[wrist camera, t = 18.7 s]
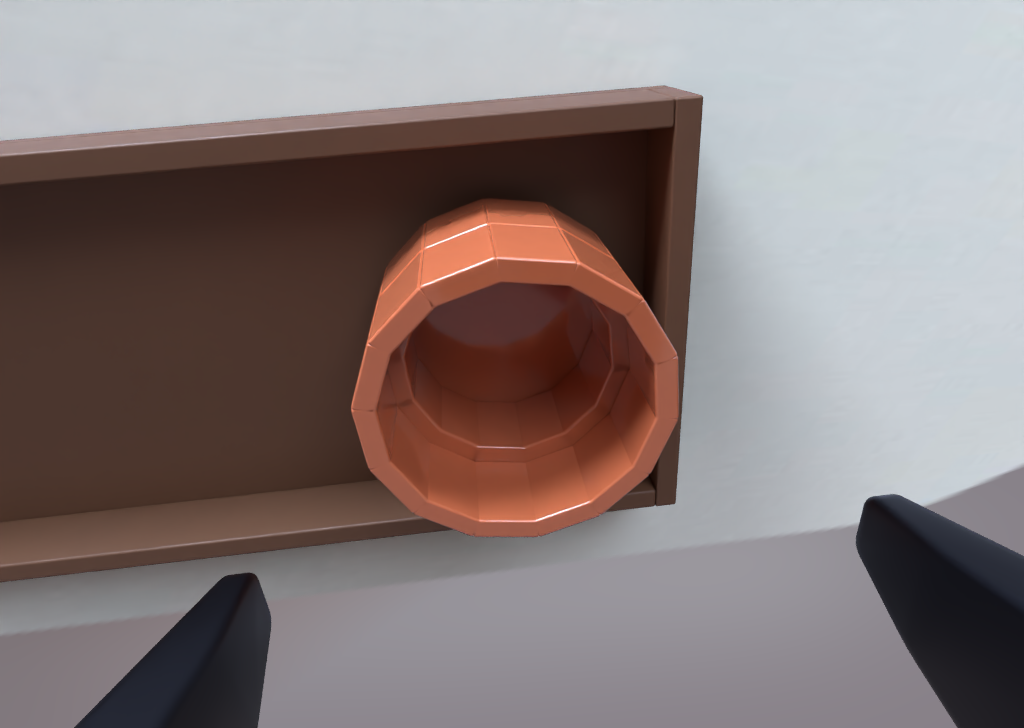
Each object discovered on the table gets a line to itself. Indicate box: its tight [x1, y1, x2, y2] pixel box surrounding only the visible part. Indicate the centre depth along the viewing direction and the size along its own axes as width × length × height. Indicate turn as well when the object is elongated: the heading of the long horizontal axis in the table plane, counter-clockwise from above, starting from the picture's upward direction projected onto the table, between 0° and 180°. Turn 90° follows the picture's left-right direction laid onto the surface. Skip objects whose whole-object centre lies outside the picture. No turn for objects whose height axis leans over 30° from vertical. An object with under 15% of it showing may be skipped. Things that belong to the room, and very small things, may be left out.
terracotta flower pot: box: [351, 198, 679, 537], centre depth 15 cm, size 7×7×5 cm
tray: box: [0, 86, 703, 582], centre depth 16 cm, size 24×11×3 cm, turn 94°
